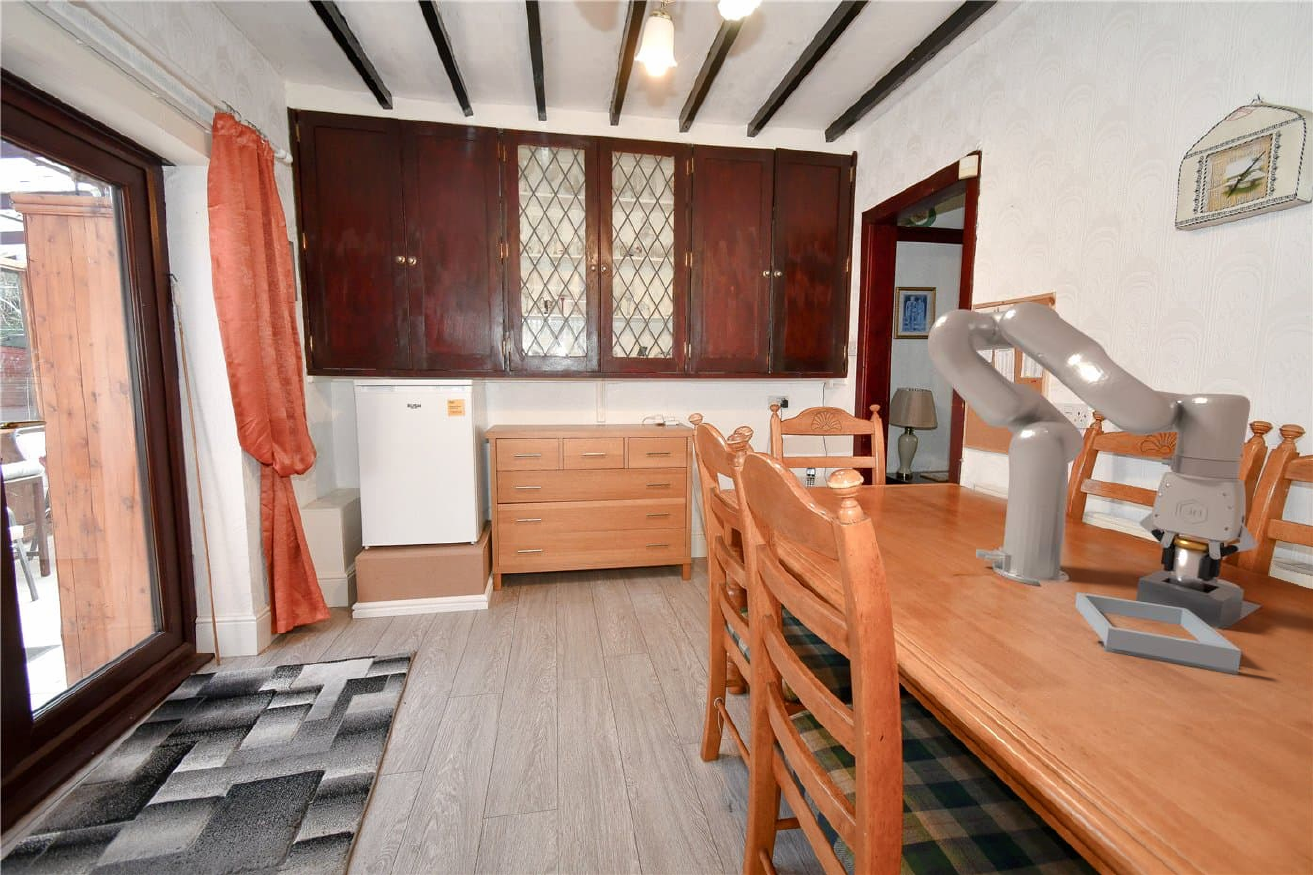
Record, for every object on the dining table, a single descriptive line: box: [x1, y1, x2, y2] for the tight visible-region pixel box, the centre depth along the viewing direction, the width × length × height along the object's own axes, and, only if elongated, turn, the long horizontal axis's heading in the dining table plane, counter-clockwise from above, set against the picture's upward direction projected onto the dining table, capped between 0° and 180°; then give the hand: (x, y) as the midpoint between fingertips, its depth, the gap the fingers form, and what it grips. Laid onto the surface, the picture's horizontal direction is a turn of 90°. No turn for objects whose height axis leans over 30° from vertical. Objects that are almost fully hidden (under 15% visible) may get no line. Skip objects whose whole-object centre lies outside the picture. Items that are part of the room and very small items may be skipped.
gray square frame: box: [1074, 591, 1242, 676], centre depth 77 cm, size 14×14×4 cm
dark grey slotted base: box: [1135, 568, 1262, 631], centre depth 88 cm, size 19×11×6 cm, turn 118°
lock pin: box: [1170, 535, 1210, 592], centre depth 85 cm, size 5×5×11 cm
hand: (1188, 573), depth 85 cm, fingers closed on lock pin, 4 cm apart
